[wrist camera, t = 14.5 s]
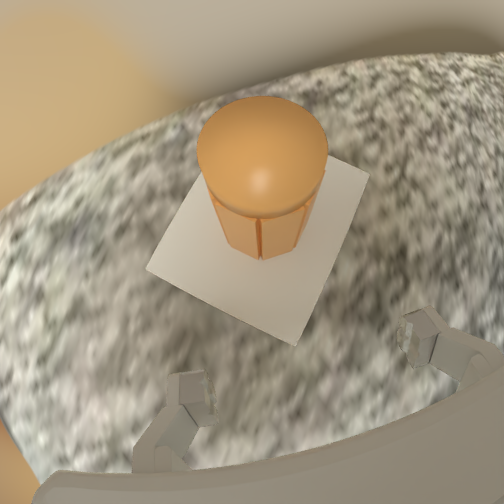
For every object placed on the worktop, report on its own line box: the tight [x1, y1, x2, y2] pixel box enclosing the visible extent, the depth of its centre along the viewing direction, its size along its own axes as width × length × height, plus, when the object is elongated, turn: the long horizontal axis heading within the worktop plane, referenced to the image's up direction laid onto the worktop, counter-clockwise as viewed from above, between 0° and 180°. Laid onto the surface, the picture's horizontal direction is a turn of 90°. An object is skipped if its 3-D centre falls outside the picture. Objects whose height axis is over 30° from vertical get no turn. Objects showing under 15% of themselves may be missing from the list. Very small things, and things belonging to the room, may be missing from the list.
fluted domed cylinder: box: [197, 96, 328, 260], centre depth 16 cm, size 5×5×8 cm
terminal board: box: [145, 155, 370, 347], centre depth 18 cm, size 12×10×6 cm
